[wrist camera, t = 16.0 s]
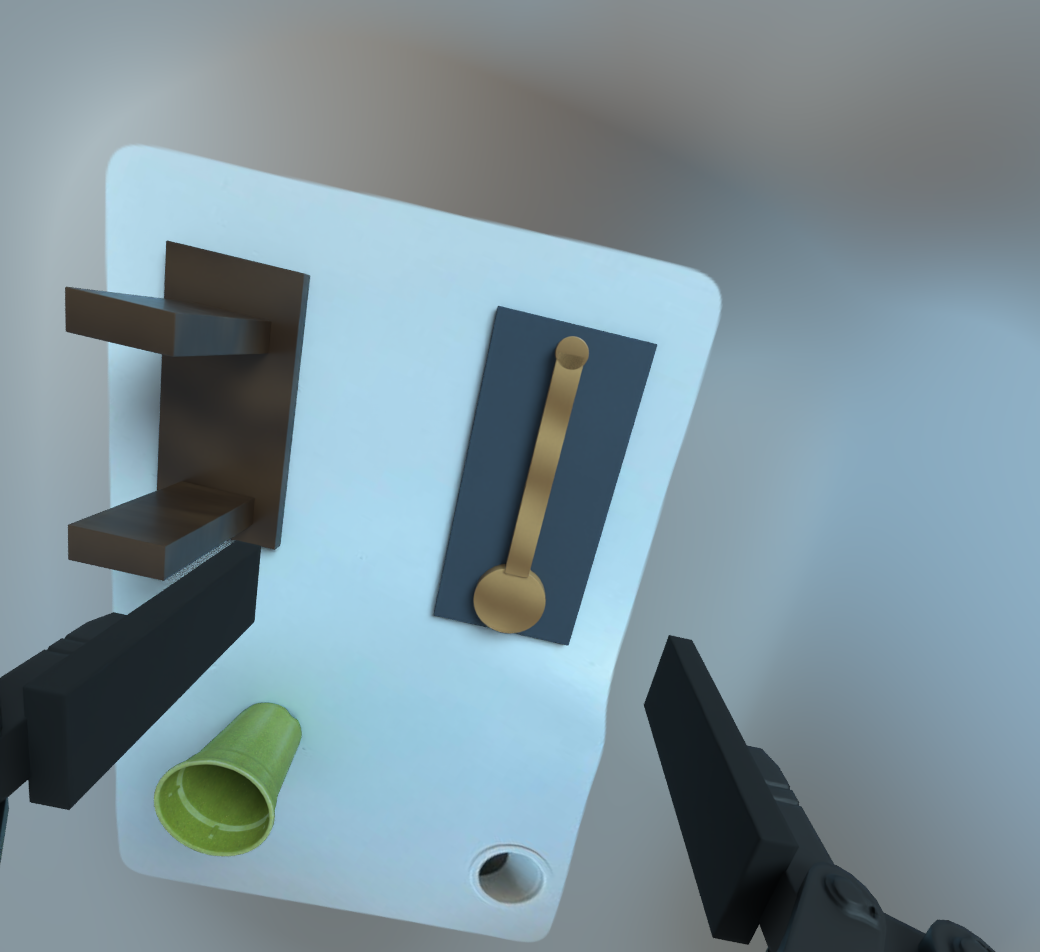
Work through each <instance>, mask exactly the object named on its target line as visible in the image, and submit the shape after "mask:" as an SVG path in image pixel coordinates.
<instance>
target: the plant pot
mask: <svg viewBox="0 0 1040 952" xmlns="http://www.w3.org/2000/svg"><path fill="white" fill-rule="evenodd" d="M300 740H301V727H300V724H299V722H298V720H297V719H294V718H293V717H292V716H291V715H290V714H289V713H288V711H287V710H286V709H285V708H284V707H282V706H279V705H276V704H273V703H258V704H254V705H252V706H250V707H249V708H247V709H246V710H244V711H243V712H242V713H241V714H240V715H239V716H238V717H236V718H235V719H234V720H233V721H232V722H231V723H230V724H229V725H228V726H227V727H226V728H225V729H224V730H223V731H222V732H221V733H219V734H218V735H217V736H216V737H215V738H214V739H213V740H212V741H211V742H210V743H209V744H207V745H206V746H205V747H204V748H203V749H202V750H201V751H200V752H199V753H198V754H195V755H194V756H192V757H190V758H189V759H188V760H186V761H185V762H182V763H179V764H177V765H176V766H174V767H172V768H171V769H170V770H168V771H167V772H166V773H165V774H164V775H163V777H162V778H161V779H160V780H159V782H158V784H157V786H156V789H155V793H154V807H155V811H156V814H157V816H158V818H159V820H160V822H161V824H162V825H163V827H164V828H165V829H166V830H167V831H168V832H169V833H170V835H171V836H172V837H174V838H175V839H176V840H177V841H179V842H180V843H182V844H183V845H185V846H187V847H189V848H191V849H193V850H195V851H197V852H200V853H205V854H207V855H212V856H235V855H240V854H244V853H247V852H249V851H251V850H253V849H255V848H257V847H258V846H259V845H261V844H262V843H263V842H264V841H265V839H266V838H267V837H268V835H269V834H270V832H271V830H272V827H273V824H274V819H275V807H276V803H277V796H278V794H279V791H280V789H281V786H282V784H283V781H284V779H285V777H286V774H287V772H288V770H289V767H290V765H291V762H292V760H293V757H294V755H295V753H296V750H297V748H298V745H299V743H300Z"/></svg>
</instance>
